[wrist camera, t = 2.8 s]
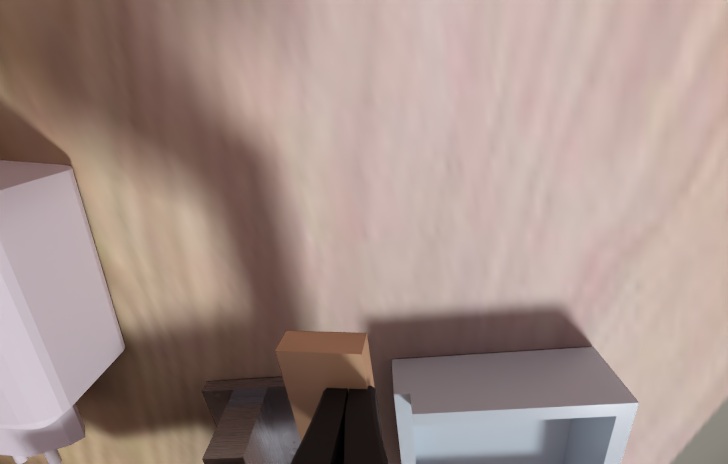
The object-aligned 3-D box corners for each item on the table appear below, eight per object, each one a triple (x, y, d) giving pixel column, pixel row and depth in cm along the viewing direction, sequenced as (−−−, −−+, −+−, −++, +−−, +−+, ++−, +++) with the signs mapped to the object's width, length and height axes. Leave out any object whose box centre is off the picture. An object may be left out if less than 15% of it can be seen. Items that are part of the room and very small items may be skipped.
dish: (567, 471, 20) (598, 535, 17) (404, 478, 20) (408, 540, 18) (593, 346, 16) (639, 402, 13) (391, 359, 16) (395, 415, 14)
